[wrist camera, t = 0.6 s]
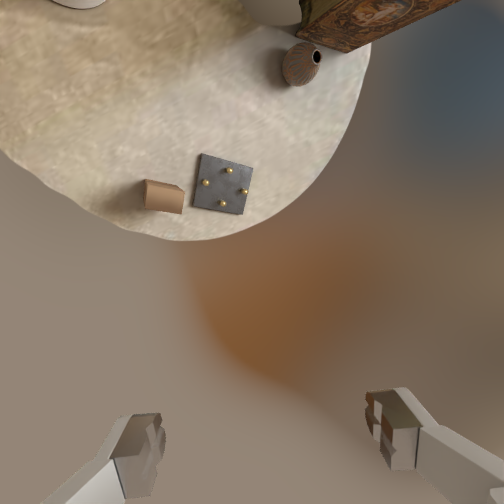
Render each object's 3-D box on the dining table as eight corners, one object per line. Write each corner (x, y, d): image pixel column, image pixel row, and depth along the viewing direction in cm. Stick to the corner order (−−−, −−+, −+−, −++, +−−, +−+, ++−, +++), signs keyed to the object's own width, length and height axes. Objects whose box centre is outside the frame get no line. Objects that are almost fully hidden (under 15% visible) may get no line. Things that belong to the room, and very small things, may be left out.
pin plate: (201, 153, 49) (204, 153, 47) (251, 167, 55) (257, 168, 53) (192, 205, 53) (195, 207, 50) (241, 213, 58) (245, 216, 56)
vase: (272, 76, 50) (295, 63, 43) (285, 42, 49) (312, 22, 41) (295, 96, 54) (321, 87, 46) (308, 64, 52) (337, 50, 45)
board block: (145, 178, 47) (147, 184, 38) (176, 185, 50) (184, 192, 41) (143, 198, 48) (145, 208, 40) (173, 204, 51) (181, 214, 42)
